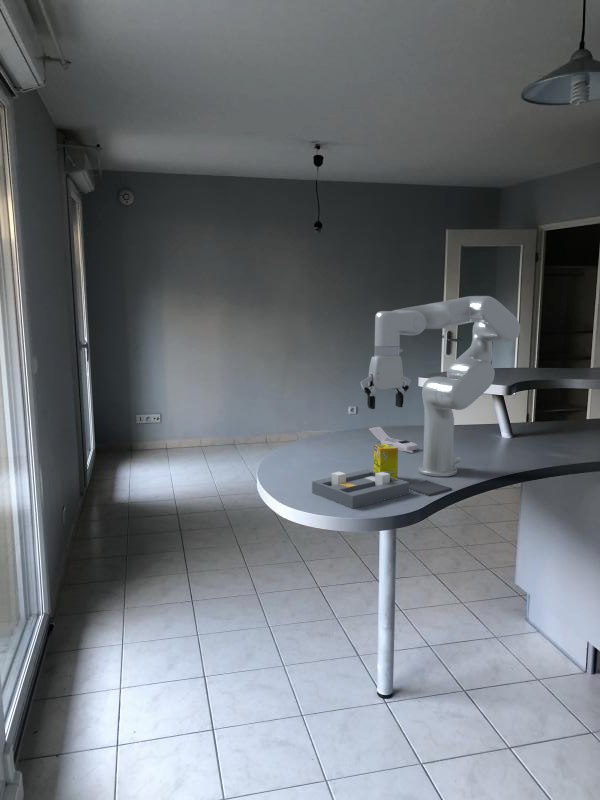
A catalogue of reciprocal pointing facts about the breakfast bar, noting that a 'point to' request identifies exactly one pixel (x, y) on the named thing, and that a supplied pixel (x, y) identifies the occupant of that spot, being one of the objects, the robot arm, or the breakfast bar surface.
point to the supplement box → (386, 459)
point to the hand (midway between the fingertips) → (385, 407)
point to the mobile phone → (393, 440)
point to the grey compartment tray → (359, 489)
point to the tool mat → (428, 488)
